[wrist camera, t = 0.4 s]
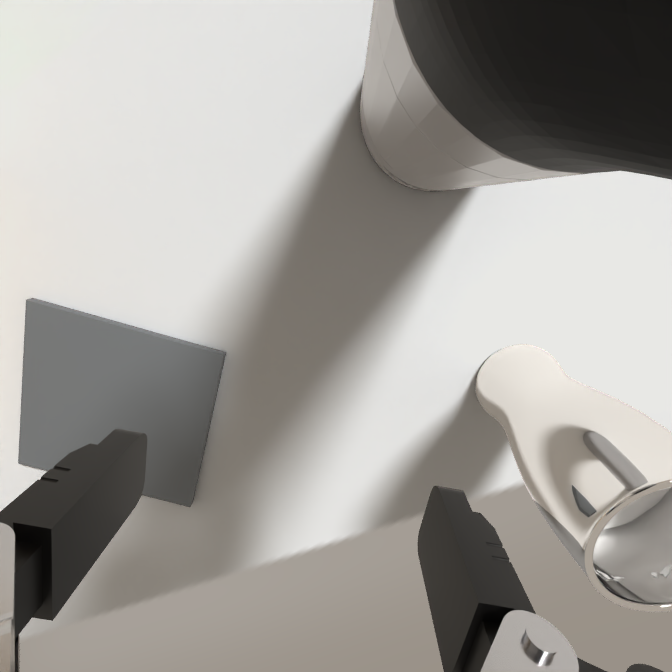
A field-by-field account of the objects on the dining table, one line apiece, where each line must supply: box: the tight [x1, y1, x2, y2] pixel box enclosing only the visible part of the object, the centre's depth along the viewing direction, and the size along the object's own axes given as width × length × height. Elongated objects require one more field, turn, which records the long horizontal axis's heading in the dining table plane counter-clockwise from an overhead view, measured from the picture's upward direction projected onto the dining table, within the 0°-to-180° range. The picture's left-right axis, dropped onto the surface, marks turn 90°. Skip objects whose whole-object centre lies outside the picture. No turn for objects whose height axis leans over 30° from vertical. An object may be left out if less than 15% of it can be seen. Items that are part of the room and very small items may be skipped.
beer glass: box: [475, 344, 672, 612], centre depth 22 cm, size 7×7×15 cm
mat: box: [18, 298, 226, 507], centre depth 31 cm, size 14×14×1 cm
